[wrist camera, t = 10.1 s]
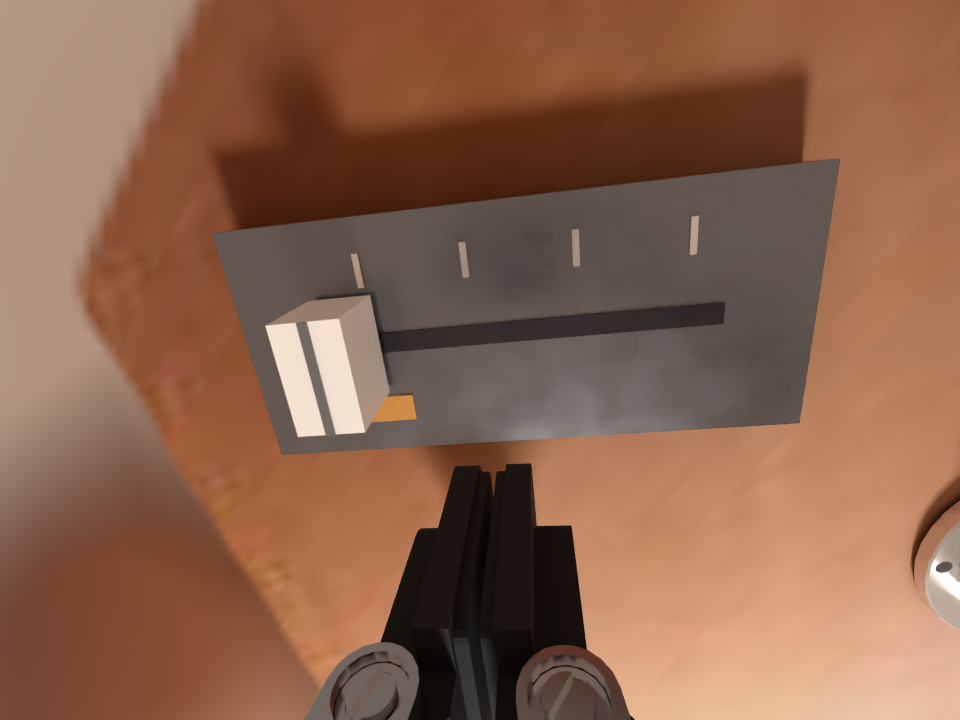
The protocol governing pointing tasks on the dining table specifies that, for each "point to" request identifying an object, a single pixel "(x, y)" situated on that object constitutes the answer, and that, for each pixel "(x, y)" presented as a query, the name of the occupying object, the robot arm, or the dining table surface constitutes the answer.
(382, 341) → the dimmer panel
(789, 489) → the dining table surface
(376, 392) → the fader
